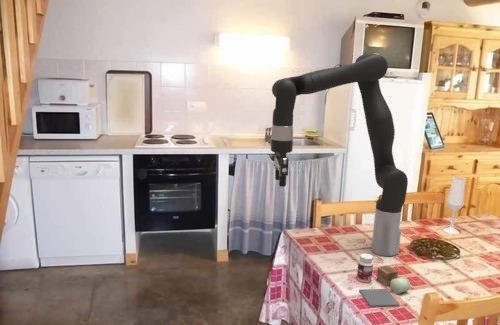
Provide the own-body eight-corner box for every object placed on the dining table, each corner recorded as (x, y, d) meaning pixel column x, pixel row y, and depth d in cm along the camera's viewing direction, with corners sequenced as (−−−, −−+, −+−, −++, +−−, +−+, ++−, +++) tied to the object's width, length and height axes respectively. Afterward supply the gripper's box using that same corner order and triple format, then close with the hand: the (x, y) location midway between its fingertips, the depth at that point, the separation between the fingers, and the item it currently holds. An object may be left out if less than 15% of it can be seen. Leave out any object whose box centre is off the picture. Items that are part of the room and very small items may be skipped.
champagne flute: (451, 234, 182) (459, 181, 177) (439, 229, 188) (446, 177, 183) (462, 232, 185) (471, 180, 180) (450, 227, 191) (458, 176, 186)
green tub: (391, 292, 134) (400, 289, 136) (401, 294, 130) (411, 291, 132) (389, 278, 134) (398, 276, 136) (399, 280, 130) (409, 277, 132)
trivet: (386, 290, 134) (386, 288, 134) (399, 306, 125) (399, 304, 125) (359, 291, 133) (359, 289, 133) (370, 307, 124) (370, 305, 124)
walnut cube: (387, 277, 142) (389, 265, 141) (396, 284, 138) (398, 271, 137) (376, 279, 141) (378, 267, 140) (385, 286, 137) (387, 273, 136)
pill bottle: (354, 275, 143) (357, 252, 141) (368, 275, 143) (370, 252, 141) (359, 282, 138) (361, 259, 136) (373, 282, 138) (376, 259, 137)
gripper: (297, 141, 140) (294, 188, 143) (288, 134, 154) (286, 177, 157) (274, 141, 139) (272, 188, 143) (268, 134, 153) (266, 177, 157)
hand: (280, 183), depth 150 cm, fingers open, 8 cm apart
